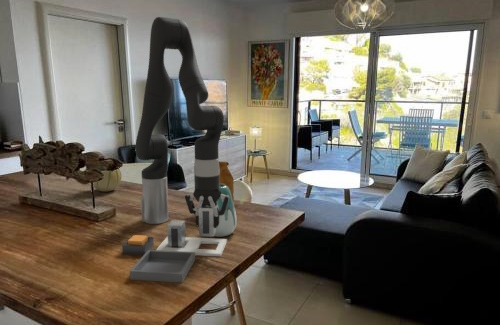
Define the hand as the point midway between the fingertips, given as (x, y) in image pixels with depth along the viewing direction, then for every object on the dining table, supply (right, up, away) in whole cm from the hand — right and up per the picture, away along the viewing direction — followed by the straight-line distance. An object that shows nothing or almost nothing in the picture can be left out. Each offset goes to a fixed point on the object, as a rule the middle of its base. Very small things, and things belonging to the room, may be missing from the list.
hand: (207, 226), depth 114 cm
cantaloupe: (-58, +5, +69) cm, 90 cm away
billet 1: (-10, -8, +3) cm, 13 cm away
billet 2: (0, -2, 0) cm, 2 cm away
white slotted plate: (-5, -8, +2) cm, 10 cm away
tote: (-11, -11, -12) cm, 19 cm away
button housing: (-21, -8, 0) cm, 23 cm away
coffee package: (0, -1, +39) cm, 39 cm away
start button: (-21, -6, -1) cm, 22 cm away
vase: (+3, -5, +16) cm, 17 cm away
